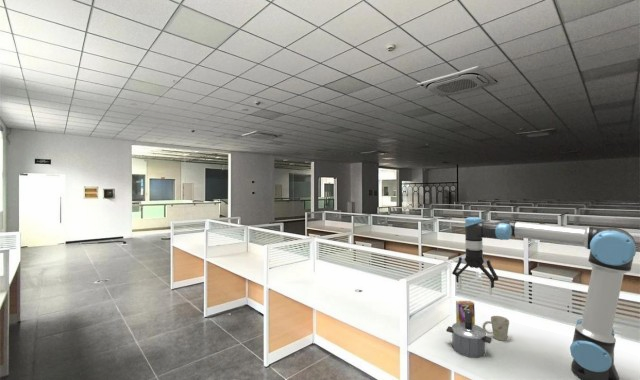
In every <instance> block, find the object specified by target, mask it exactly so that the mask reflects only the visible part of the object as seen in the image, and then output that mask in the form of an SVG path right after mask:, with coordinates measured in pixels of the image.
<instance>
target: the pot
mask: <svg viewBox="0 0 640 380" xmlns="http://www.w3.org/2000/svg"><path fill="white" fill-rule="evenodd" d="M445 329H446V332H447V333H451V334H452V335H451V336H452V337H451V342H452V343H451V344H452V345H451V346H452V349H453V351H454V352H456V353H458V355H461V356H463V357H464V356H465V357H467V358H474V359H479V358H483V357H485V354H486V344H491V342H492V339H493V338H492V337H490V336H487V335H486V336H485V337H484V338H482V339H468V338H464V337H461V336H459V335H457V334H456V333H454V332H453V330H452V326H450V325H449V326H448V327H447V328H445Z"/></svg>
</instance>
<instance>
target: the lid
mask: <svg viewBox="0 0 640 380" xmlns="http://www.w3.org/2000/svg"><path fill="white" fill-rule="evenodd" d="M451 327H452V330H453V332H454V333H456V334H457V335H459V336H461V337H464V338H468V339H482V338H484V337H485V336H487V335H486V332H485V330H484V329H483V327H481V326H479V325H477V324H475V325H474V324H472V311H470V310H465V323H464V322H460V323H456V322H455V323H453V324H452V325H451Z"/></svg>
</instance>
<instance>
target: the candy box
mask: <svg viewBox="0 0 640 380" xmlns="http://www.w3.org/2000/svg"><path fill="white" fill-rule="evenodd" d="M465 310H470V311H472V324H474V325H476V323H475V322H476V318H475V317H476V315H475V313H476V312H475V310H476V309H475V303H474V301H472V300H455V313H456V315H455V316H456V317H455V318H456V319H455V320H456V322H455V323H460V322H464V323H465Z"/></svg>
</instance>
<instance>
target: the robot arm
mask: <svg viewBox="0 0 640 380" xmlns="http://www.w3.org/2000/svg"><path fill="white" fill-rule="evenodd" d="M464 223H465V224H464V232H465V237H464V238H465V257H463V256H459V257H458V261H457V263H456V265H455V267H454V269H453V271H452V272H451V274H452V275H453V276H455V281H456V283H457V284H458V290H459V291H460V290H461V289H462V275H461V274H462V273H463V272H464V271H465V270H466V269H467V268H468V267H469V268H471V269H472V268H473V269H480V270H481V271H482V272H483V273H484V275H485V276H486V277H487V278H488V279H489V280H488V294H489V296H492V294H493V291H492V289H494V288H495V281H496V282H497V281H498V280H499V277H498V274H497V273H496V271H495V269H494V267H493V265H492V263H491V259H484V256H483V254H484V253H483V252H484V251H483V248H484V246H483V239H494V240H500V241H508V240H510V239H511V237H514V238H520V239H521V238H522V239H528V240H535V241H544V242H552V243H559V244H564V245H565V244H566V245H572V246H580V247H584V248H586V249H587V250H589V254H588V255H589V256H588V261H587V262H588V263H589V264H590V265H591V267H592V269H591V272H590V277H589V282H588V283H589V284H588V289H587V293H586V299H585V303H584V309H583V315H582V318H579V319H577V321H576V324H575V328H574V332H573V338H572V342H571V344H570V346H569V352H570V354H571V357H572V358H573V360H572V361H571V365H570V366H571V367H570V370H571V372H572V374H574V376H575V377H577V376H578V377H577V378H579V379H580V380H582V379H583V380H621V379H620V375H619V373H618V371H617V369H616V366H615V363H614V361H615V347H616V342H617V341H616V337H615V334H616V333H615V330H614V323H615V318H616V313H617V308H618V304H619V298H620V294H621V290H622V289H621V288H622V283H623V279H624V275H625V274H626V273H630V272H631V271H632V266H633V262H634V257H635V256H636V253H637V246H636V240H635V238H634V237H633V236H632V234H631V233H629V232H628V231H626V230H624V229H622V228H619V227H601V226H600V227H597V226H587V227H586V228H584V227H582V228H581V227H573V226H562V225H553V224H543V223H536V222H535V223H534V222H523V221H513V220H510V219H502V220H499V221H496V222H486V221H485V222H484V221H483V219H482V217H475V216H472V217H470V216H467V217H466V218H465V220H464ZM464 261H465V263H466V264H465V265H464V266H463V267H462V268H460V270H459V271H458V269H459V267H460V266H461V264H462V262H464ZM484 264H485V265H487V268H488V269H489V271H490V272H489V271H488V270H487V268H486V267H485V266H484ZM457 271H458V272H457Z"/></svg>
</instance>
